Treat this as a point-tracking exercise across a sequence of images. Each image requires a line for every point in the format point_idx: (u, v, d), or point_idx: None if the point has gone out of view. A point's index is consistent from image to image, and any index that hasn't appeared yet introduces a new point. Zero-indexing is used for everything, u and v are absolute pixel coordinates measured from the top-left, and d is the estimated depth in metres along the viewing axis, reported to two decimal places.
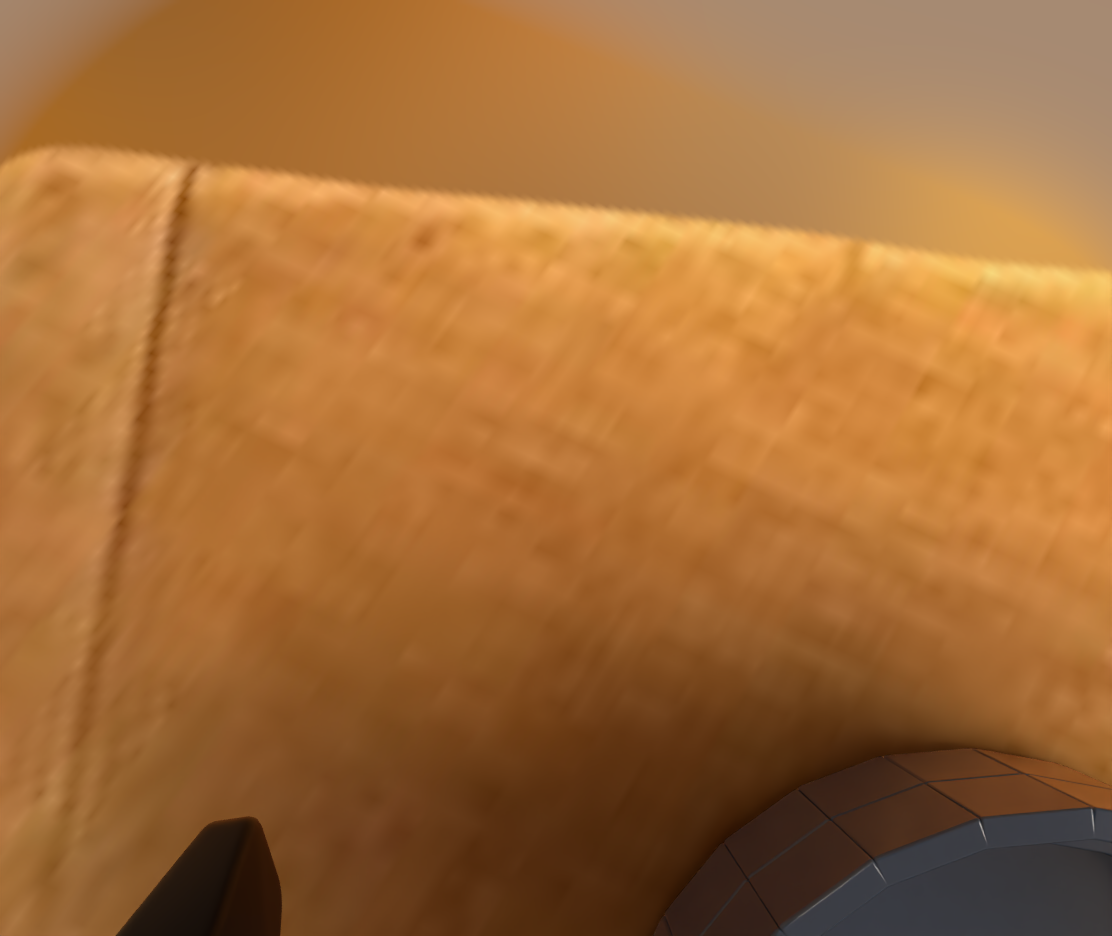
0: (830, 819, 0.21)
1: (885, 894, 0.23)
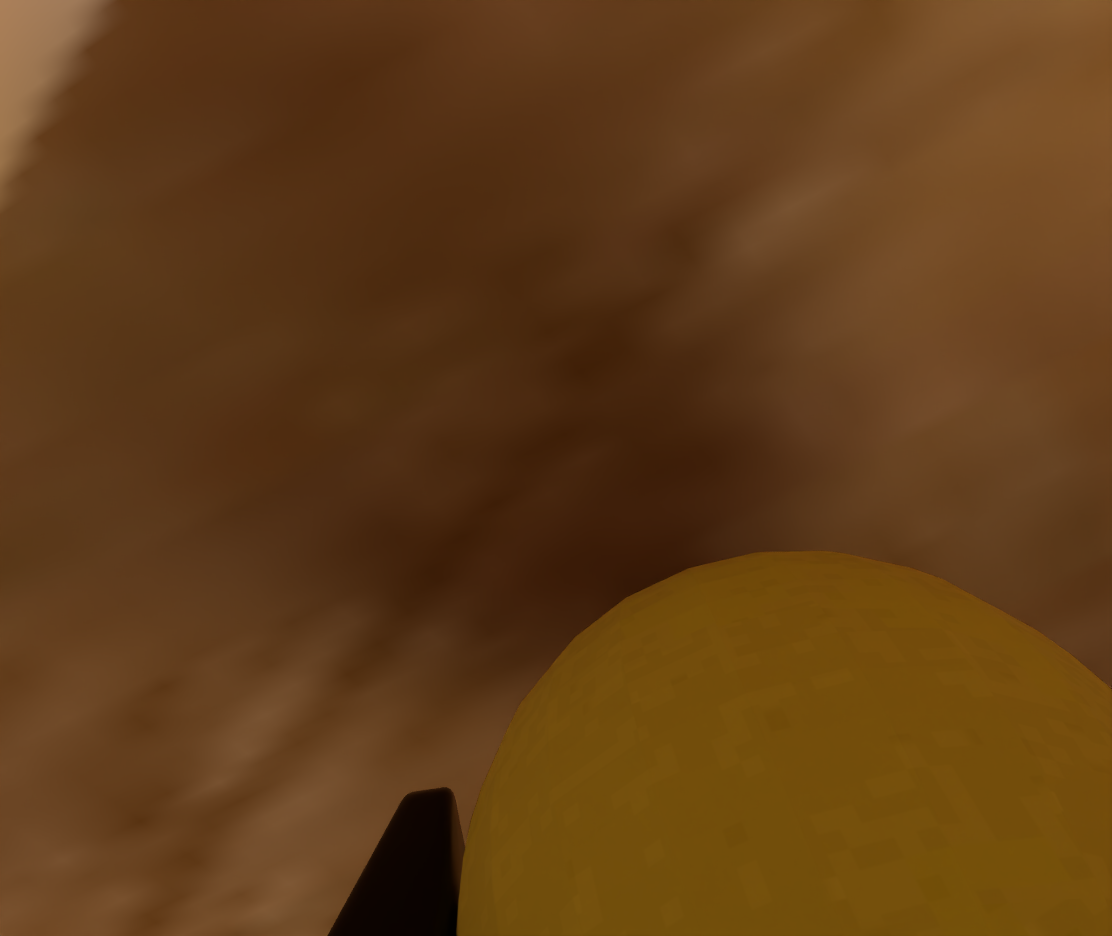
0: None
1: None
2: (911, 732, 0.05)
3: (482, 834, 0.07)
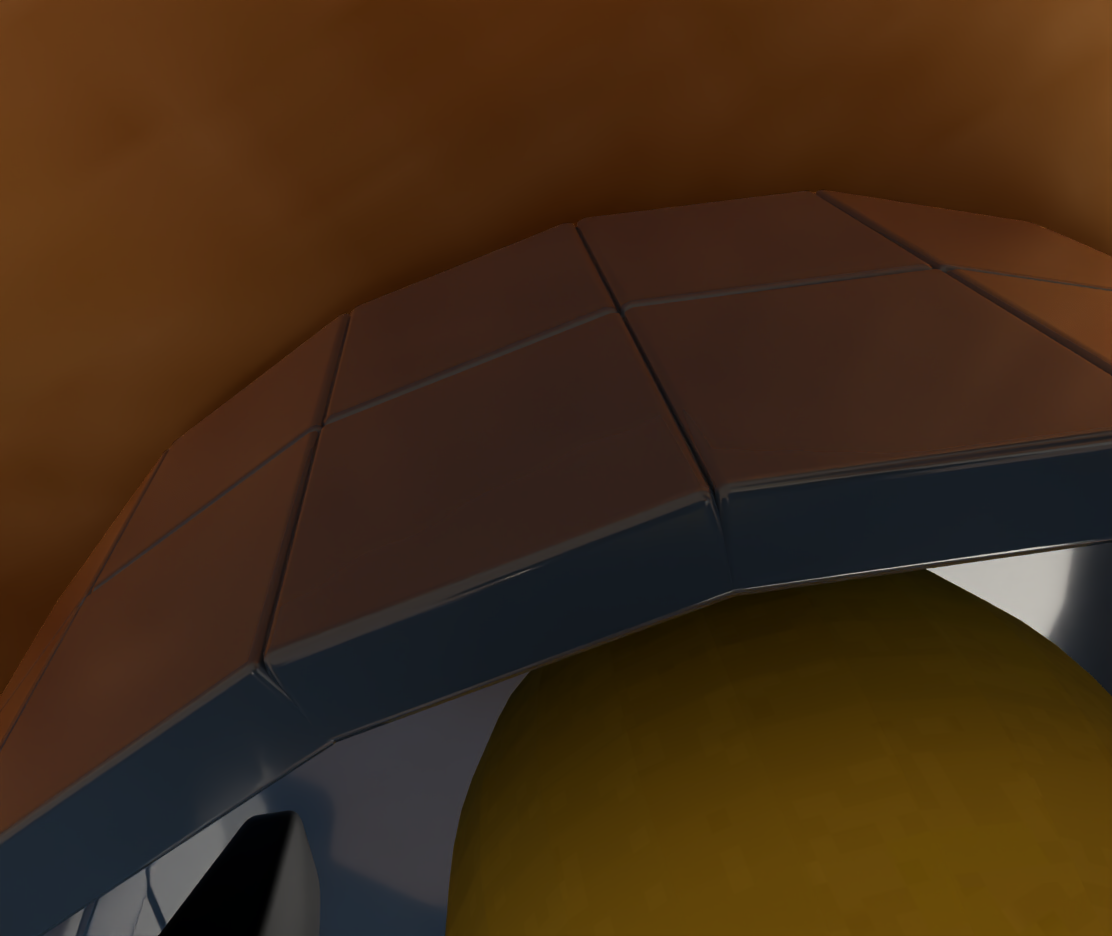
0: (933, 269, 0.07)
1: None
2: (892, 718, 0.06)
3: (472, 823, 0.07)
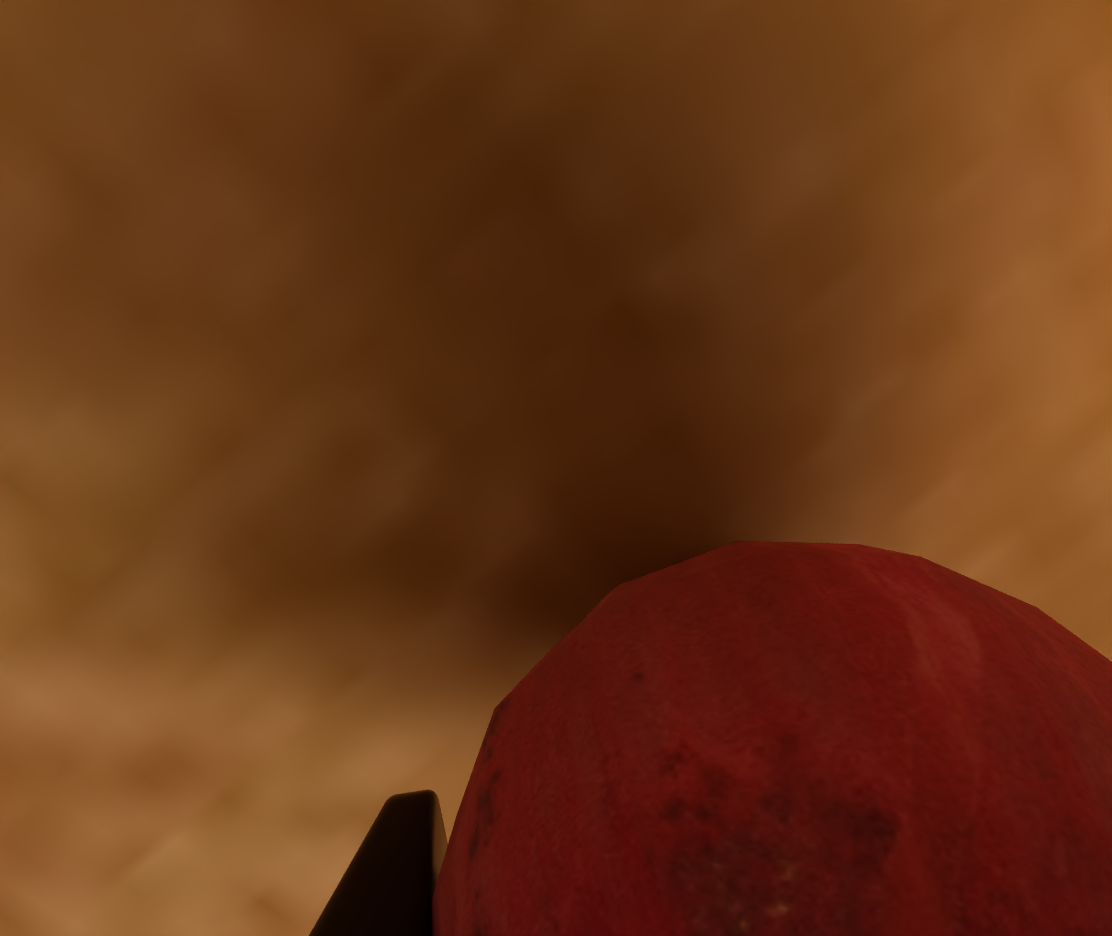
0: None
1: None
2: None
3: None
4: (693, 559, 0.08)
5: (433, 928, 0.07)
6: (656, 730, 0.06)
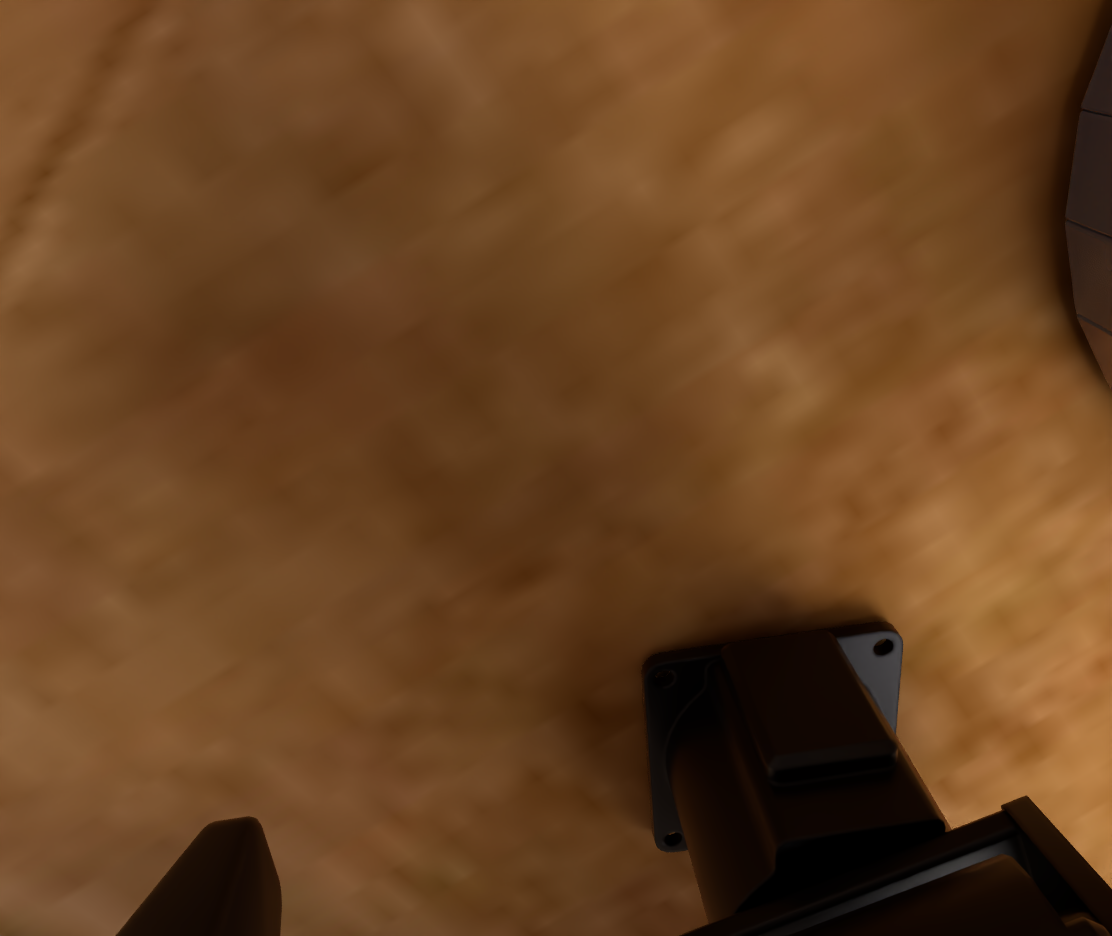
0: None
1: None
2: None
3: None
4: None
5: None
6: None
